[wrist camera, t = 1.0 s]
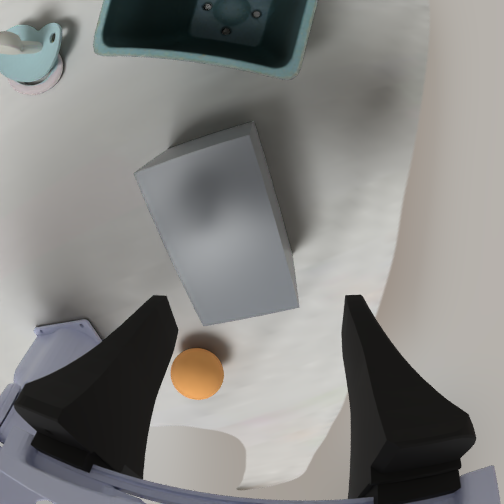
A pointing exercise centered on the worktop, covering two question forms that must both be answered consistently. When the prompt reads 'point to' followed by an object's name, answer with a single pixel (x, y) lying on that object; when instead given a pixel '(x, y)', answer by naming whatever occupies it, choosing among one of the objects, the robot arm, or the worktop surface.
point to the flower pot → (210, 32)
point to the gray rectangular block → (222, 225)
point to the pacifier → (31, 57)
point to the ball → (197, 373)
